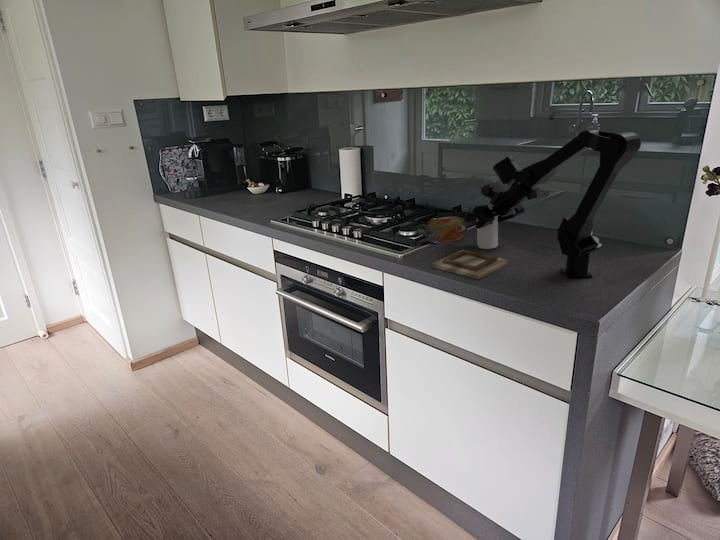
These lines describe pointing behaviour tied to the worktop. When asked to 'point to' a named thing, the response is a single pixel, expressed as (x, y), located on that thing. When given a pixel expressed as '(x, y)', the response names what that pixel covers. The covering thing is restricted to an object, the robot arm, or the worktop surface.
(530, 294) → the worktop surface
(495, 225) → the can
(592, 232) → the pacifier
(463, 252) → the base plate
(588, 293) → the worktop surface
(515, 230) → the worktop surface
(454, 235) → the tin
